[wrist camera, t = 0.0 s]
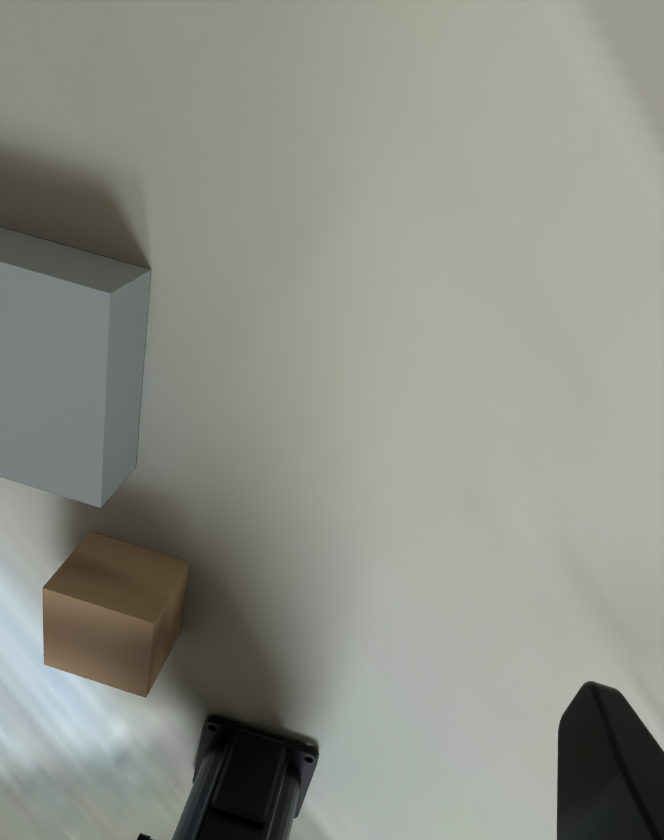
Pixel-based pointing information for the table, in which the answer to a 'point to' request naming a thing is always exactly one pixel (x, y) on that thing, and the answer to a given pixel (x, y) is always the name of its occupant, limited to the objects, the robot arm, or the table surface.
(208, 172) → the table surface
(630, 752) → the robot arm
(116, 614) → the block
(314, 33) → the table surface
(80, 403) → the base
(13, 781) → the table surface
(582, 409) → the table surface
